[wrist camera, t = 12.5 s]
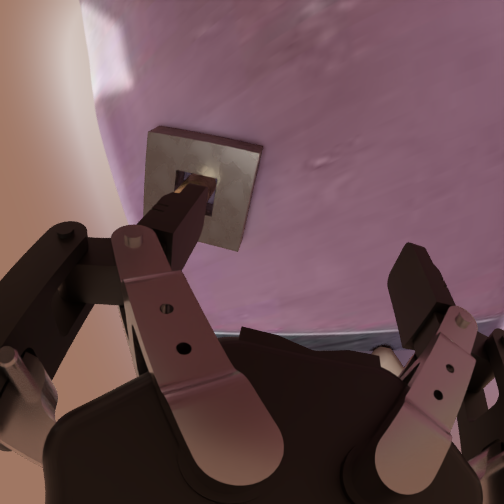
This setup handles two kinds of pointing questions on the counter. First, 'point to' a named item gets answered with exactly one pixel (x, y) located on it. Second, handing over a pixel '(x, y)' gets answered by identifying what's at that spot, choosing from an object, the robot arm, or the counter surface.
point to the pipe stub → (199, 183)
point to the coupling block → (207, 164)
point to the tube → (389, 360)
